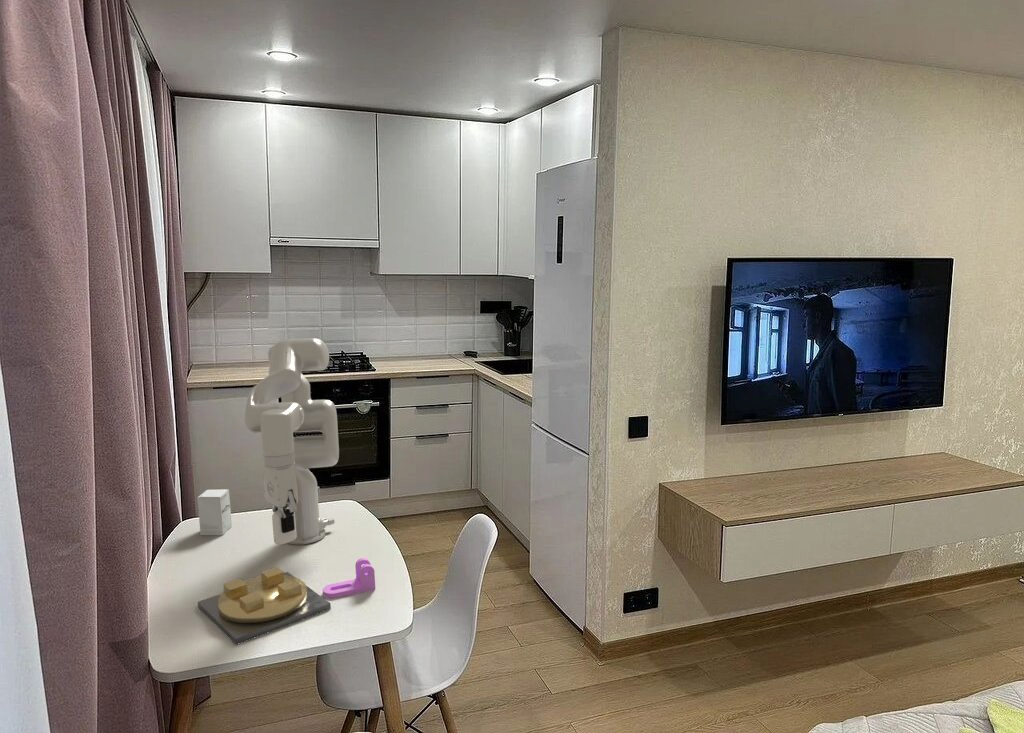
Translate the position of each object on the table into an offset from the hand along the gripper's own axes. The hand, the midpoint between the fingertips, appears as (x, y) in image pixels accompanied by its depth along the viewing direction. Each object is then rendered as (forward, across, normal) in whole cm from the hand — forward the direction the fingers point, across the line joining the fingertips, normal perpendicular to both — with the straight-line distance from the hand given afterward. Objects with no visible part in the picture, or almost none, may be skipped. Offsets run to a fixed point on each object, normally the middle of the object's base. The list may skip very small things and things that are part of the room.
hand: (284, 528), depth 190 cm
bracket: (+19, +6, +13) cm, 24 cm away
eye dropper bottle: (+4, 0, 0) cm, 4 cm away
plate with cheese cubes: (+17, 0, -7) cm, 19 cm away
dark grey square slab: (+19, 0, -7) cm, 20 cm away
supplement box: (+20, -58, +3) cm, 61 cm away
